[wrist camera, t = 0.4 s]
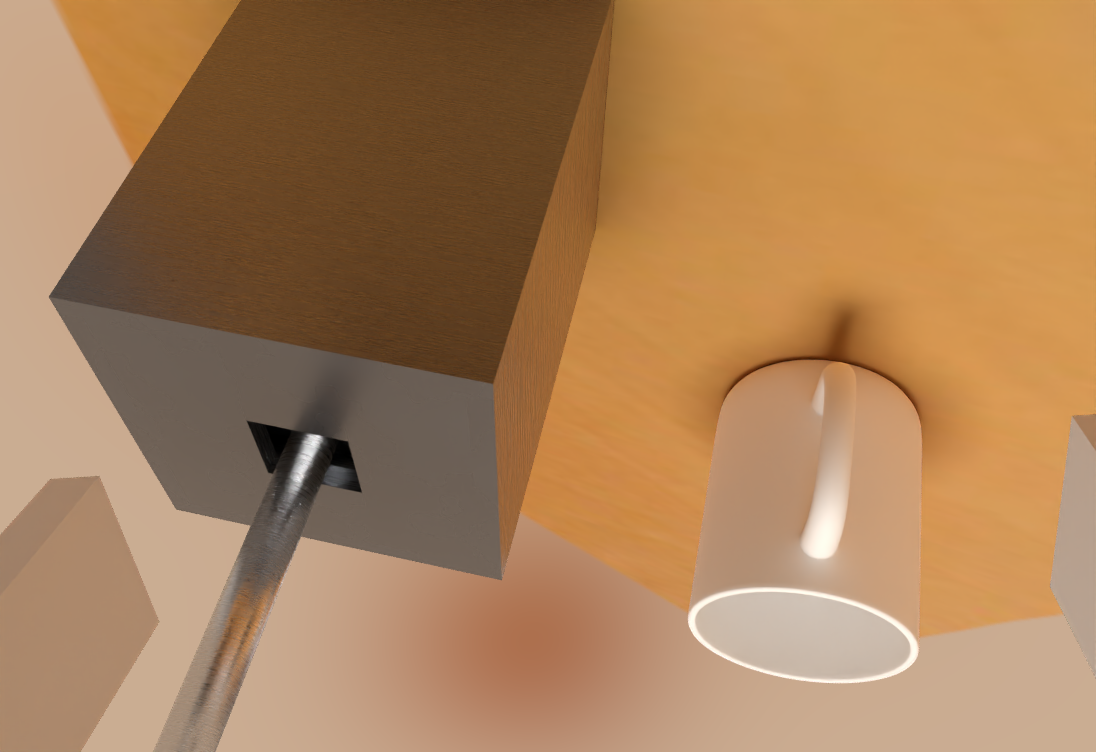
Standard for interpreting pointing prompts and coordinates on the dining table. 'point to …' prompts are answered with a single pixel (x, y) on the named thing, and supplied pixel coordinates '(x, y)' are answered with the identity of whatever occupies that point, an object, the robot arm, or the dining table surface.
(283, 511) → the plunger
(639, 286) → the dining table surface
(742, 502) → the cup
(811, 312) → the dining table surface
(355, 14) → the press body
